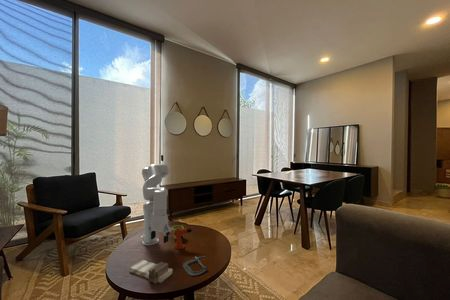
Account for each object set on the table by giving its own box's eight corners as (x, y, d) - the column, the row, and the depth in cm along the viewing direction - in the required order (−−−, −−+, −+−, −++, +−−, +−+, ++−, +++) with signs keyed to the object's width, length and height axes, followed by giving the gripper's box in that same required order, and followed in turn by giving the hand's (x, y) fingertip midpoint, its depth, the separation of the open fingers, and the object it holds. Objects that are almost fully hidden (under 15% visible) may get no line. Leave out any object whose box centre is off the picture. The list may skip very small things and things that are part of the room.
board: (129, 271, 130) (129, 267, 130) (142, 263, 139) (142, 259, 139) (160, 282, 120) (160, 278, 120) (172, 273, 129) (172, 269, 129)
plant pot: (172, 241, 173) (173, 230, 173) (170, 236, 181) (171, 226, 181) (184, 239, 177) (184, 228, 176) (182, 235, 185) (182, 224, 185)
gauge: (148, 281, 120) (148, 268, 120) (161, 271, 129) (161, 259, 129) (155, 283, 118) (155, 270, 118) (167, 274, 127) (167, 261, 127)
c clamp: (180, 261, 143) (180, 257, 143) (205, 257, 150) (205, 253, 150) (187, 279, 124) (187, 274, 124) (215, 272, 131) (215, 268, 131)
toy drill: (199, 246, 160) (197, 226, 160) (174, 250, 159) (171, 230, 159) (200, 243, 165) (197, 224, 165) (175, 247, 164) (172, 227, 164)
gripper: (144, 210, 128) (143, 239, 128) (167, 215, 120) (166, 246, 121) (153, 207, 134) (153, 234, 135) (175, 211, 127) (175, 240, 127)
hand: (159, 240), depth 128 cm, fingers open, 9 cm apart
